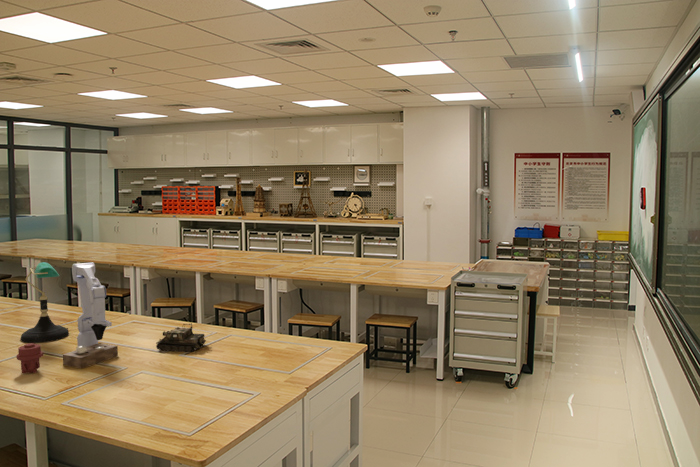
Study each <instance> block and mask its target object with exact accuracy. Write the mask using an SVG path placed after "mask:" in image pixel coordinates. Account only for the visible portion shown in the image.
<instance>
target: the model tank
mask: <svg viewBox="0 0 700 467" xmlns="http://www.w3.org/2000/svg"><path fill="white" fill-rule="evenodd" d="M186 325H187V326H188V325H189V326H190V327H185V326H186ZM162 336H163V338H162V339H161V338H159V340H157V341H156V343H155V344H156V349H157V350H159V351H161V352H173V353H175V352H177V353H179V352H180V353H181V352H182V353H183V352H184V353H192V352H195V351H197V350H198V348H199V347H201V346H204V345H205V343H206V342H207V340H206V339H205V334H204V333H193V324H192V322H190V323H188V324H187V323H183V325H182V327H180V326H177V327H175V328H174V329H171V330H170V331H169V330H167V331H165V330H164V331H163V332H162Z"/></svg>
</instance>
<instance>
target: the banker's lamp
mask: <svg viewBox="0 0 700 467" xmlns="http://www.w3.org/2000/svg"><path fill="white" fill-rule="evenodd" d="M29 269H30V272H29V273H28V274H27V276H26V277H25V281H26V282H27V284H28V285H30V286H32V287H33V288H34V289H35V290H37V291H38V292H40V293H41V295H40V297H39V303H40V304H39V306H40V308H39V309H40V315H39V319H38V321H37V322H36V324H35V325H34V327H31V328H29V329H27V330H26V331H23V332H22V334H21V336H20V342H23V343H26V344H29V343H34V344H39V343H49V342H55V341H58V340H62V339H64V338H67V337H68V336H69V335H70V332H69V328H68V327H64V326H63V325H58V324H55V323H54V322H53V321H52V319H51V318H50V316H49V313H48V310H49V309H48V296H47V295H46V292H44V291H42V290H41V289H40V288H38V287H37V286H35V285H34V284H32V283H31V282H30V281H29V280H28V278H29V277H30V276H31V275H35V276H36V278H37V279H43V278H44V279H45V278H56V277H60V274H59V273H58V272H57V270H56V269H55V268H54V267H53V266H52V265H51V264H50V263H48V262H38V264H37V265H36V267H35V266H34V267H30V268H29ZM33 269H35V270H34V271H33Z"/></svg>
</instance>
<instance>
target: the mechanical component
mask: <svg viewBox="0 0 700 467" xmlns="http://www.w3.org/2000/svg"><path fill="white" fill-rule="evenodd" d="M17 353H18V354H17V355H16V356H15V357H16V360H18V361H20V367H21V368H20V370H21V374H22V375H23V374H36V373H37V372H38V369H39V368H41V366H40V364H41V363H40V359H41V358H42V357H43V356H44V351H42V348H41V344H39V343H26V344H24V345H21V346H20V347H18V352H17Z"/></svg>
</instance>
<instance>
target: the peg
mask: <svg viewBox="0 0 700 467" xmlns="http://www.w3.org/2000/svg"><path fill="white" fill-rule="evenodd" d="M76 349H77V355H83V354H86V346H85V345H82V346H78V345H76V348H75V350H76Z"/></svg>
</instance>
